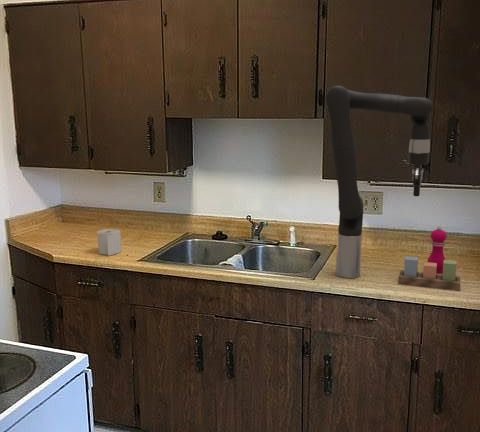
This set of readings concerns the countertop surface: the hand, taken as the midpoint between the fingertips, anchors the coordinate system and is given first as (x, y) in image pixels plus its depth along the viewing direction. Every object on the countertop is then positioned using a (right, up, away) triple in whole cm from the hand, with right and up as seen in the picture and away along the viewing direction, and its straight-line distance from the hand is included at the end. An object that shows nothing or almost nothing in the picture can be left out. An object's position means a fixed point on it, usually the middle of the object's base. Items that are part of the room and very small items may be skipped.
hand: (416, 195), depth 210 cm
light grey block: (-129, -25, +46) cm, 139 cm away
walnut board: (+5, -34, -1) cm, 34 cm away
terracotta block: (+5, -33, -1) cm, 33 cm away
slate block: (-2, -31, +1) cm, 31 cm away
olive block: (+11, -32, -4) cm, 34 cm away
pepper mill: (+12, -31, +11) cm, 35 cm away
